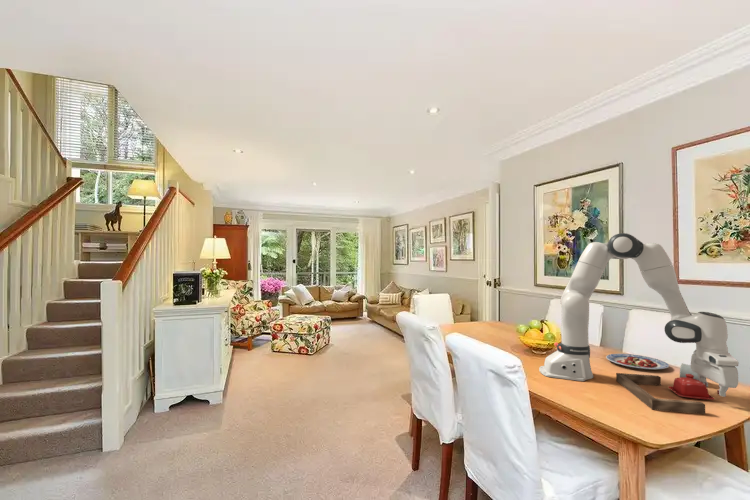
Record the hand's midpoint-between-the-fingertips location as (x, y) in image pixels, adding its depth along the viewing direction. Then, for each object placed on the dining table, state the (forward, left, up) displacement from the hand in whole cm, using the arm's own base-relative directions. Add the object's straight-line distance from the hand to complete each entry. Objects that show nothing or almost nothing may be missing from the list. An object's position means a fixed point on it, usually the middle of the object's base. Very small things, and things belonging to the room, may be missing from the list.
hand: (712, 391), depth 133 cm
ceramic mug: (+5, +21, -4) cm, 22 cm away
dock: (-19, 0, -3) cm, 19 cm away
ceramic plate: (-7, +44, -4) cm, 45 cm away
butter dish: (-5, +4, -4) cm, 8 cm away
